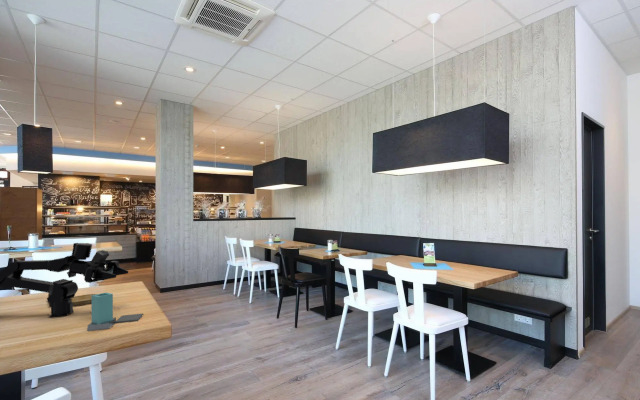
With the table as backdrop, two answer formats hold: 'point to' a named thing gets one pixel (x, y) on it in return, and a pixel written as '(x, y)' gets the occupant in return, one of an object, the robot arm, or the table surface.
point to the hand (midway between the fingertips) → (122, 274)
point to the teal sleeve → (102, 308)
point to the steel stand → (101, 325)
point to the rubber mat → (129, 318)
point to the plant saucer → (82, 299)
